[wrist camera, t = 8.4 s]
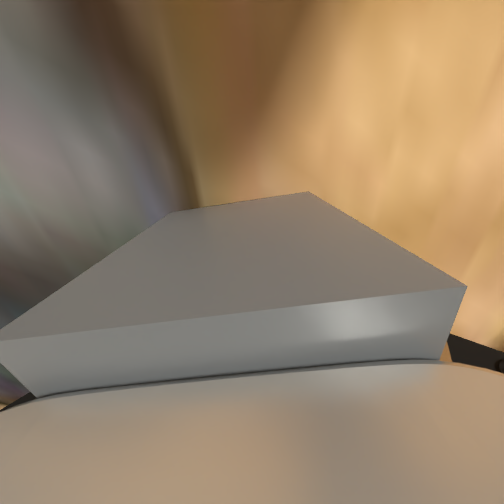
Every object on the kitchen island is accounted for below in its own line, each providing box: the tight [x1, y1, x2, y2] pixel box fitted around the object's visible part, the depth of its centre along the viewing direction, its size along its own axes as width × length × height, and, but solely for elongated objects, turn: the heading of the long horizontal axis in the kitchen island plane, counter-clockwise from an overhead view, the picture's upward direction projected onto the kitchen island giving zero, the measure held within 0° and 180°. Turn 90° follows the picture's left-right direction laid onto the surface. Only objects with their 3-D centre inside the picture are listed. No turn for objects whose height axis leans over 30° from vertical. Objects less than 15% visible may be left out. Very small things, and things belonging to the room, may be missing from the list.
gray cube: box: [0, 192, 467, 399], centre depth 9 cm, size 8×8×9 cm
